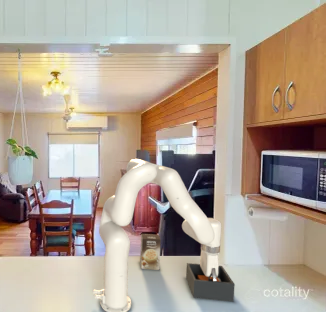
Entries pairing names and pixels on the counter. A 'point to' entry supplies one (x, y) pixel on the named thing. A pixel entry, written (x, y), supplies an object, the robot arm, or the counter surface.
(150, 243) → the coffee box
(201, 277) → the block
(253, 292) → the counter surface
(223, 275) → the trash bin
